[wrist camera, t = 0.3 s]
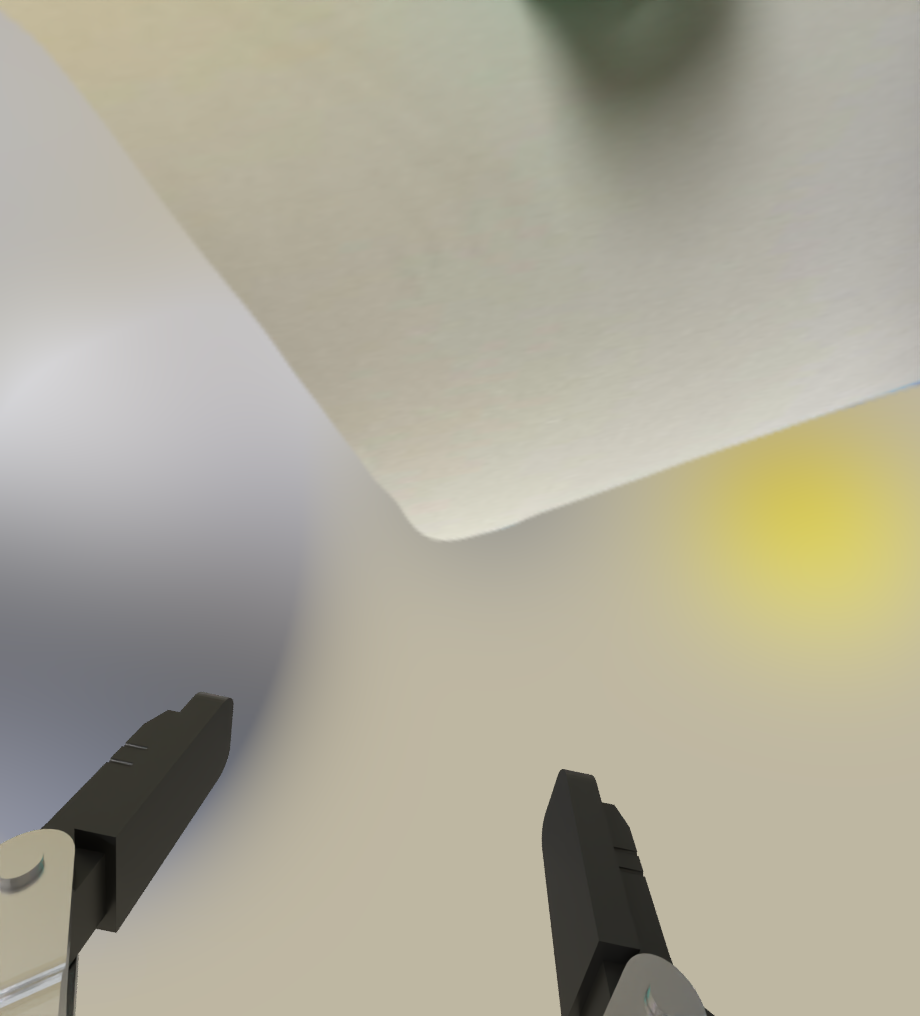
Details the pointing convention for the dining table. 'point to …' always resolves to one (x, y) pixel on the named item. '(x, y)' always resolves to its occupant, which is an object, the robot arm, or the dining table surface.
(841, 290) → the dining table surface
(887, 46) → the dining table surface
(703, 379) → the dining table surface
